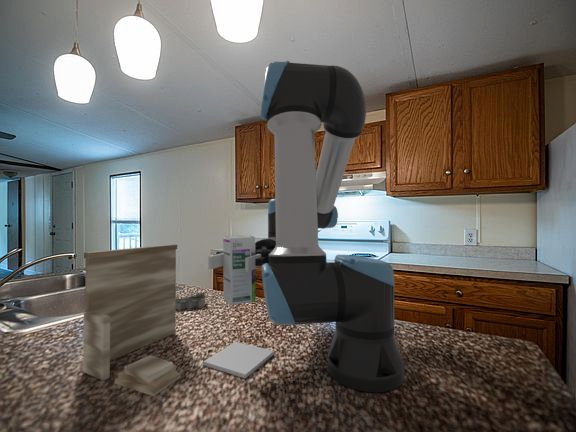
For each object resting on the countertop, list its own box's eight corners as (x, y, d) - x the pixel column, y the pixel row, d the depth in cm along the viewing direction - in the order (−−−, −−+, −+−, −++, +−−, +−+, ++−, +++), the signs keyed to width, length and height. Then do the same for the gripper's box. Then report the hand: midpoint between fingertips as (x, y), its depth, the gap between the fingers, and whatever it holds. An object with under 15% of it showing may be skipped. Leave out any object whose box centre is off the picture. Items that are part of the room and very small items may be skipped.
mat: (273, 354, 64) (273, 351, 64) (245, 378, 54) (245, 374, 54) (235, 344, 69) (235, 341, 69) (203, 365, 59) (203, 361, 59)
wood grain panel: (193, 336, 74) (193, 245, 74) (103, 380, 54) (104, 254, 54) (172, 331, 78) (172, 244, 78) (80, 370, 57) (81, 252, 58)
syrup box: (230, 306, 58) (230, 237, 58) (222, 299, 63) (222, 235, 64) (255, 302, 61) (256, 236, 61) (246, 295, 66) (246, 234, 66)
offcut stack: (182, 378, 55) (182, 360, 55) (153, 398, 49) (153, 377, 49) (145, 368, 59) (145, 351, 59) (114, 385, 53) (114, 366, 53)
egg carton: (205, 302, 106) (205, 291, 106) (205, 308, 99) (205, 297, 99) (175, 304, 103) (175, 293, 103) (172, 311, 96) (173, 299, 96)
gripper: (303, 266, 76) (274, 285, 55) (236, 263, 83) (185, 278, 61) (303, 238, 76) (274, 246, 55) (235, 237, 83) (185, 244, 61)
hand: (228, 263), depth 58 cm, fingers closed on syrup box, 8 cm apart
